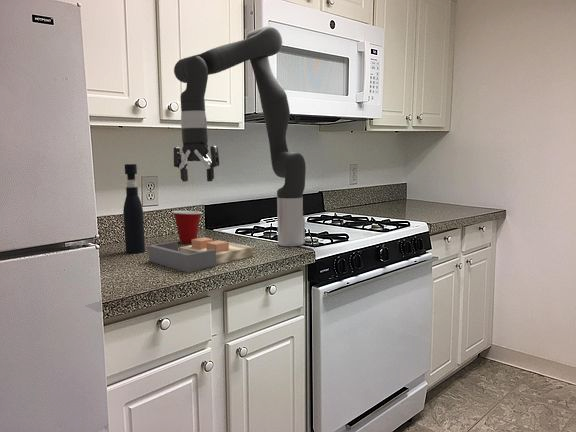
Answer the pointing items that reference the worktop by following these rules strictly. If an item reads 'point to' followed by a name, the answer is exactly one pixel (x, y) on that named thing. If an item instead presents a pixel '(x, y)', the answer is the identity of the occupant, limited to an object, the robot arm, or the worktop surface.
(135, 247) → the wine bottle
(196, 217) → the plastic cup
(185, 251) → the birch board
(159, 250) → the box
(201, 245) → the terracotta tile
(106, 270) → the worktop surface
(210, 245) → the terracotta tile
